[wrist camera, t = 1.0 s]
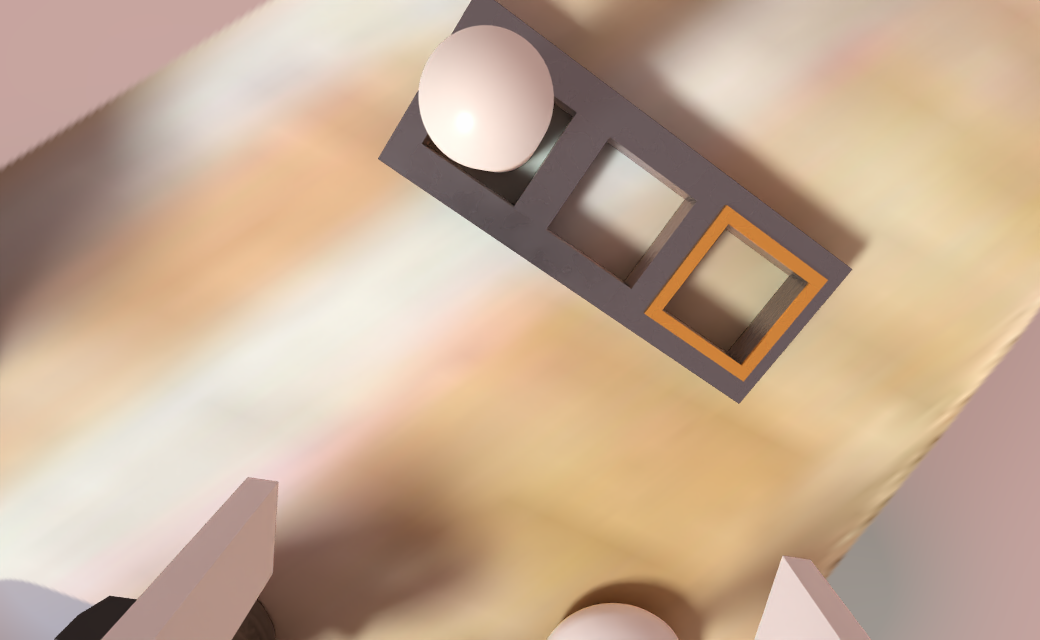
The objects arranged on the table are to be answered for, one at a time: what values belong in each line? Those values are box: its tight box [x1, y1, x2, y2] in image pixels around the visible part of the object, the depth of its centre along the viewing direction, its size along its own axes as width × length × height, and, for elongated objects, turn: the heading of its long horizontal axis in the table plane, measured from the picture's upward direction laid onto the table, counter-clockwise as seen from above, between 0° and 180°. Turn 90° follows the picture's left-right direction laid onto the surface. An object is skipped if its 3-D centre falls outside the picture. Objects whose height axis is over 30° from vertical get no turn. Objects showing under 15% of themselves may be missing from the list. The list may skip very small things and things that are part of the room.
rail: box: [378, 0, 852, 404], centre depth 35 cm, size 28×11×3 cm, turn 56°
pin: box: [418, 25, 554, 172], centre depth 28 cm, size 5×5×15 cm
